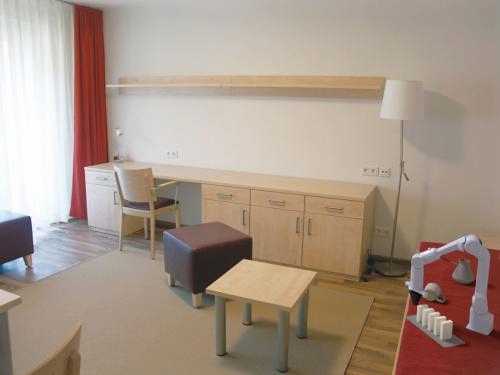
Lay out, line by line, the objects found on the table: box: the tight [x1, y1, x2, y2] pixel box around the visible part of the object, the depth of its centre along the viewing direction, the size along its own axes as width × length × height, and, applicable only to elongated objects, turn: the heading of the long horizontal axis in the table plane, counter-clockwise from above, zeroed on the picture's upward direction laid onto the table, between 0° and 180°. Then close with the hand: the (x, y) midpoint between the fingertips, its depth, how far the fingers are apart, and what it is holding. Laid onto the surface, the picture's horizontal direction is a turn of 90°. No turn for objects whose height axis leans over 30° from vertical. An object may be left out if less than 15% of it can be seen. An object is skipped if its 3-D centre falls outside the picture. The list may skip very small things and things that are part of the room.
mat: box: [404, 314, 466, 349], centre depth 200 cm, size 28×11×1 cm, turn 16°
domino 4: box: [433, 315, 447, 335], centre depth 195 cm, size 2×5×8 cm, turn 106°
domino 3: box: [428, 311, 441, 331], centre depth 199 cm, size 2×5×8 cm, turn 106°
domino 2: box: [422, 307, 435, 327], centre depth 203 cm, size 2×5×8 cm, turn 106°
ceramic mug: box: [424, 282, 446, 304], centre depth 228 cm, size 11×8×8 cm
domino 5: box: [440, 319, 454, 340], centre depth 191 cm, size 2×5×8 cm, turn 106°
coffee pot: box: [440, 255, 475, 285], centre depth 250 cm, size 21×12×15 cm, turn 72°
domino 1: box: [416, 303, 429, 322], centre depth 207 cm, size 2×5×8 cm, turn 106°
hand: (415, 304), depth 211 cm, fingers closed
